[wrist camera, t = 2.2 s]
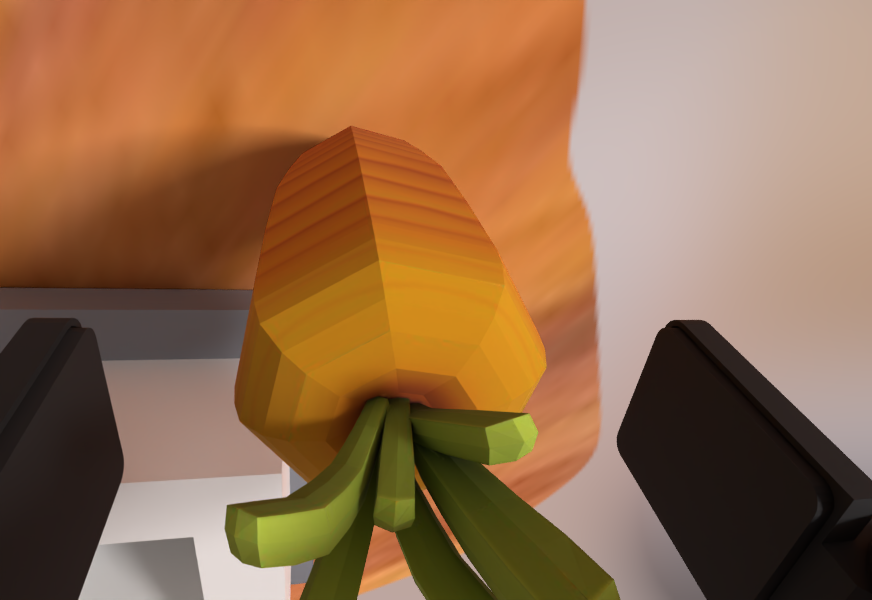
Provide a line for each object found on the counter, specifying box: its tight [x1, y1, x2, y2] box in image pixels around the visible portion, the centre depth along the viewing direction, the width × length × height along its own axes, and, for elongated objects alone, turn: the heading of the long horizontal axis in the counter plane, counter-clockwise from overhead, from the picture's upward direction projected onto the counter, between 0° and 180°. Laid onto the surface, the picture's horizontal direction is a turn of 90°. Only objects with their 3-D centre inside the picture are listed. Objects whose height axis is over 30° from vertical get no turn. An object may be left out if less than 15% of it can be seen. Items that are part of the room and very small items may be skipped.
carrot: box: [224, 126, 620, 600], centre depth 11 cm, size 5×5×15 cm
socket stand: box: [0, 288, 313, 600], centre depth 20 cm, size 16×14×6 cm
